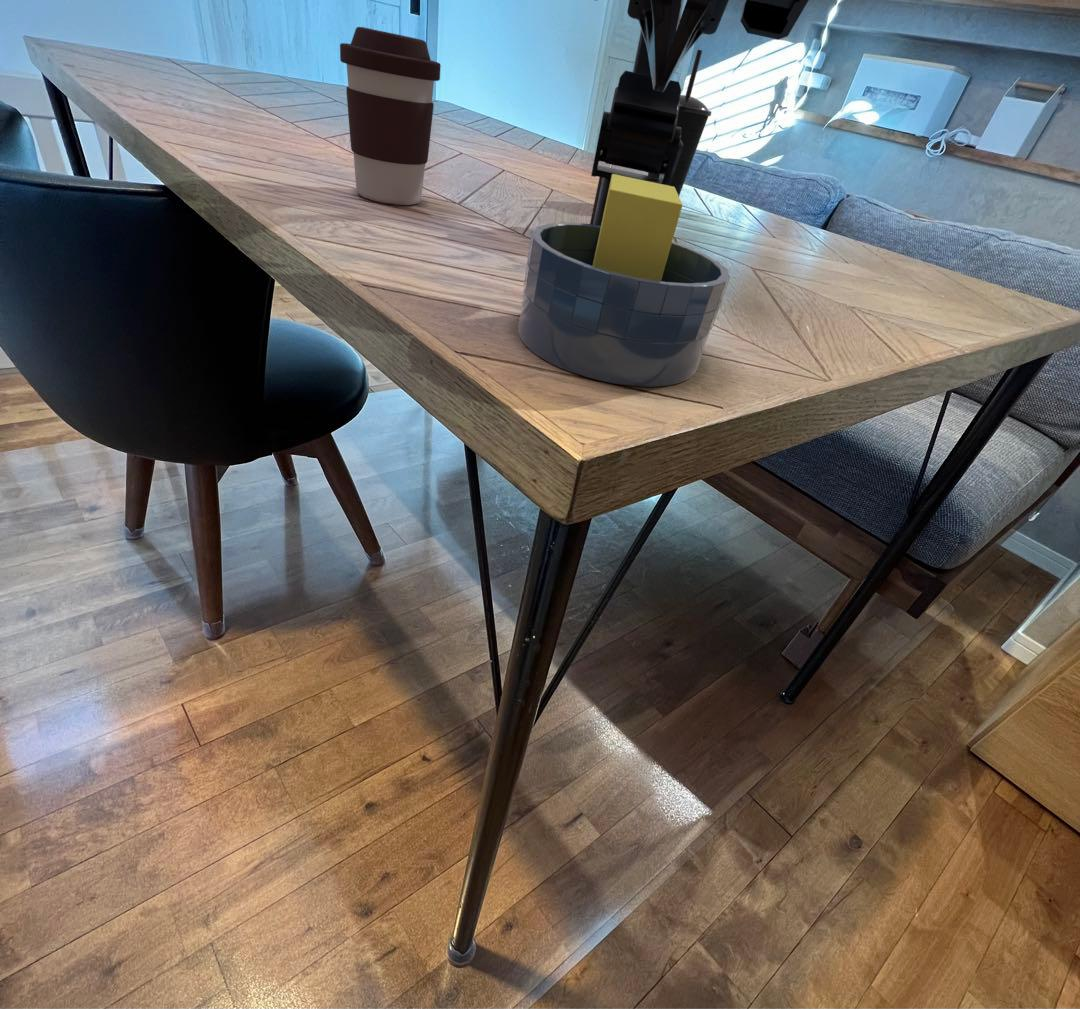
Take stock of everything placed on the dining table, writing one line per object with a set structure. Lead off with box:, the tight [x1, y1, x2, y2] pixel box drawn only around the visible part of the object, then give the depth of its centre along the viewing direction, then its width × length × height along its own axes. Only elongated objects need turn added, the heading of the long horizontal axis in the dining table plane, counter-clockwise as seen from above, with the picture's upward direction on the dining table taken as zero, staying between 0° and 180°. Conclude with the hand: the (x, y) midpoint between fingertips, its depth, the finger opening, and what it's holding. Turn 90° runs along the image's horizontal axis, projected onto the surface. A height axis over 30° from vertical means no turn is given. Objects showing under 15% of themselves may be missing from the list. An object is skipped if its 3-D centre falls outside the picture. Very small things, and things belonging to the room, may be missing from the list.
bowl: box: [517, 222, 731, 388], centre depth 41 cm, size 13×13×6 cm
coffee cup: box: [339, 26, 442, 206], centre depth 63 cm, size 10×10×15 cm
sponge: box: [592, 174, 683, 281], centre depth 40 cm, size 7×4×7 cm, turn 173°
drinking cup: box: [647, 49, 712, 197], centre depth 85 cm, size 8×8×20 cm
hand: (659, 88), depth 45 cm, fingers closed
